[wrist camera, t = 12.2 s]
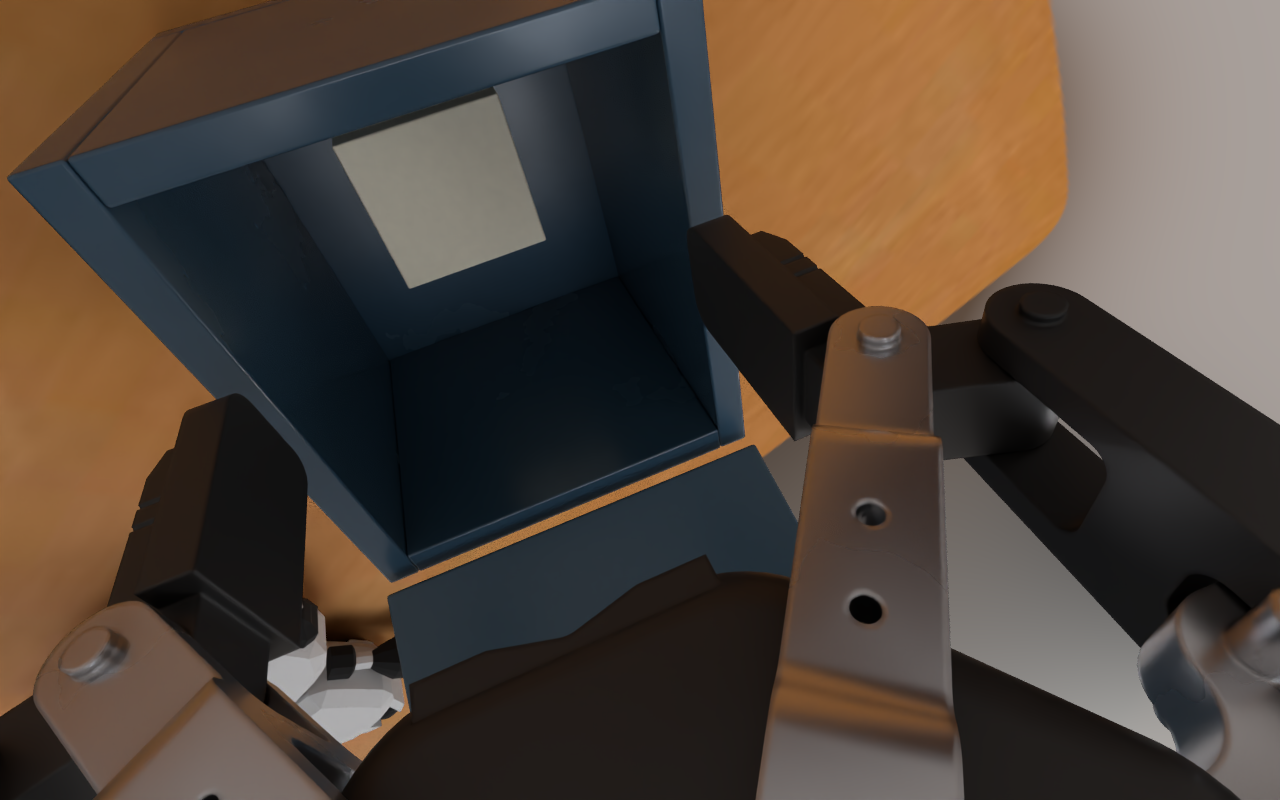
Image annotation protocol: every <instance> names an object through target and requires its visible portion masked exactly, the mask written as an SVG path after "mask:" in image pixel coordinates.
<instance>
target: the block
mask: <svg viewBox="0 0 1280 800" xmlns="http://www.w3.org/2000/svg"><path fill="white" fill-rule="evenodd" d="M332 149H333V151H334V152H335V154H336V156H337V158H338V160H339V162H340V163H341V165H342V167H343V169H344V171H345V173H346V174H347V176H348V178H349V180H350V182H351V184H352V185H353V187H354V189H355V191H356V193H357V195H358V196H359V198H360V200H361V202H362V204H363V206H364V207H365V209H366V211H367V213H368V215H369V216H370V218H371V220H372V222H373V224H374V226H375V227H376V229H377V231H378V233H379V235H380V237H381V238H382V240H383V242H384V244H385V246H386V248H387V249H388V251H389V253H390V255H391V257H392V259H393V260H394V262H395V264H396V266H397V268H398V270H399V271H400V273H401V275H402V277H403V279H404V281H405V282H406V284H407V286H408V288H414V287H416V286H419V285H422V284H425V283H428V282H430V281H433V280H436V279H439V278H442V277H444V276H447V275H450V274H453V273H456V272H458V271H461V270H464V269H467V268H469V267H472V266H475V265H478V264H481V263H483V262H486V261H489V260H492V259H495V258H497V257H500V256H503V255H506V254H509V253H511V252H514V251H517V250H520V249H523V248H525V247H528V246H531V245H534V244H537V243H539V242H542V241H545V240H546V237H545V234H544V231H543V228H542V225H541V222H540V219H539V216H538V213H537V210H536V207H535V204H534V201H533V198H532V195H531V192H530V189H529V186H528V183H527V180H526V177H525V174H524V171H523V168H522V165H521V162H520V159H519V156H518V153H517V150H516V147H515V144H514V141H513V138H512V135H511V132H510V129H509V126H508V123H507V120H506V117H505V114H504V111H503V108H502V105H501V102H500V99H499V96H498V94H497V92H496V91H495V89H494V88H493V87H491V88H488V89H484V90H481V91H478V92H475V93H472V94H469V95H466V96H463V97H459V98H456V99H453V100H450V101H447V102H444V103H441V104H437V105H434V106H431V107H428V108H425V109H422V110H419V111H415V112H412V113H409V114H406V115H403V116H400V117H397V118H393V119H390V120H387V121H384V122H381V123H378V124H375V125H372V126H368V127H365V128H362V129H359V130H356V131H353V132H350V133H346V134H343V135H340V136H337V137H334V138H332Z"/></svg>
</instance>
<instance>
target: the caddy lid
mask: <svg viewBox="0 0 1280 800" xmlns="http://www.w3.org/2000/svg"><path fill="white" fill-rule="evenodd" d="M797 528H798V522H797V520H796V518H795V516H794V515H793V513H792V511H791V509H790V507H789V506H788V504H787V502H786V500H785V498H784V496H783V495H782V493H781V491H780V489H779V487H778V486H777V484H776V482H775V480H774V478H773V477H772V475H771V473H770V471H769V469H768V467H767V466H766V464H765V462H764V460H763V458H762V457H761V455H760V453H759V451H758V449H757V447H756V446H755V445H750V446H748V447H746V448H743V449H741V450H738V451H736V452H734V453H731V454H729V455H726V456H724V457H721V458H719V459H717V460H714V461H712V462H709V463H707V464H705V465H702V466H700V467H697V468H695V469H693V470H690V471H688V472H685V473H683V474H680V475H678V476H676V477H673V478H671V479H668V480H666V481H664V482H661V483H659V484H656V485H654V486H651V487H649V488H647V489H644V490H642V491H639V492H637V493H635V494H632V495H630V496H627V497H625V498H622V499H620V500H618V501H615V502H613V503H610V504H608V505H606V506H603V507H601V508H598V509H596V510H593V511H591V512H589V513H586V514H584V515H581V516H579V517H577V518H574V519H572V520H569V521H567V522H565V523H562V524H560V525H557V526H555V527H552V528H550V529H548V530H545V531H543V532H540V533H538V534H536V535H533V536H531V537H528V538H526V539H523V540H521V541H519V542H516V543H514V544H511V545H509V546H507V547H504V548H502V549H499V550H497V551H494V552H492V553H490V554H487V555H485V556H482V557H480V558H478V559H475V560H473V561H470V562H468V563H465V564H463V565H461V566H458V567H456V568H453V569H451V570H449V571H446V572H444V573H441V574H439V575H437V576H434V577H432V578H429V579H427V580H424V581H422V582H420V583H417V584H415V585H412V586H410V587H408V588H405V589H403V590H400V591H398V592H395V593H393V594H391V595H389V596H388V598H387V599H388V604H389V609H390V614H391V619H392V624H393V629H394V634H395V639H396V644H397V649H398V654H399V659H400V664H401V669H402V674H403V679H404V684H405V689H406V694H407V699H408V704H409V709H410V712H411V702H410V690H409V684H411V683H414V682H416V681H418V680H420V679H423V678H425V677H427V676H430V675H432V674H434V673H436V672H439V671H441V670H443V669H445V668H448V667H450V666H452V665H455V664H457V663H459V662H461V661H464V660H466V659H468V658H470V657H473V656H475V655H477V654H480V653H482V652H484V651H488V650H493V649H499V648H505V647H510V646H516V645H521V644H527V643H533V642H538V641H544V640H550V639H555V638H560V637H564V636H567V635H569V634H571V633H572V632H574V631H575V630H577V629H578V628H579V627H581V626H582V625H583V624H585V623H586V622H587V621H589V620H590V619H591V618H593V617H594V616H595V615H597V614H598V613H599V612H601V611H602V610H603V609H605V608H606V607H607V606H609V605H610V604H611V603H613V602H614V601H615V600H616V599H618V598H619V597H620V596H622V595H623V594H624V593H626V592H627V591H628V590H630V589H631V588H632V587H634V586H635V585H636V584H639V583H641V582H643V581H645V580H648V579H650V578H652V577H654V576H657V575H659V574H661V573H664V572H666V571H668V570H670V569H673V568H675V567H677V566H679V565H682V564H684V563H686V562H689V561H691V560H693V559H695V558H698V557H700V556H702V555H704V554H706V555H707V557H708V559H709V561H710V563H711V565H712V567H713V569H714V571H715V572H716V574H719V573H725V572H738V571H754V572H767V573H772V574H778V575H783V576H787V577H791V570H792V563H793V556H794V549H795V542H796V535H797Z"/></svg>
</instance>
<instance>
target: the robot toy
mask: <svg viewBox="0 0 1280 800" xmlns="http://www.w3.org/2000/svg"><path fill="white" fill-rule="evenodd" d="M401 678H403V674H402V669H401V664H400V659H399V654H398V649H397V644H396V639H395V637H393V638H392V639H390V640H388V641H387V642H385V643H383V644H382V645H380V646H378V647H377V646H376V645H374V644H373V642H369V641H364V640H353V639H349V641H348V642H335V641H326V629H325V616H324V615H323V614H322V613H321V612H320V611H319V610H318V607H317V606H316V605H315V604H313V603H312V602H311V601H309V600H308V599H306V598H302V616H301V637H300V649H298V650H295V651H293V652H291V653H288V654H286V655H284V656H281V657H279V658H277V659H274V660H272V661H269V663H268V674H267V680H268V681H270V682H271V683H273V684H274V685H276V686H277V687H278V688H280V689H281V690H282V691H283V692H284V693H285V694H286V695H287V696H288V697H289V698H291V699H292V700H293V701H294V702H295V703H296V704H297V705H298V706H299V707H300V708H302V709H303V710H304V711H305V712H306V713H307V714H308V715H309V716H310V717H312V718H313V719H314V720H315V721H316V722H317V723H318V724H319V725H320V726H321V727H323V728H324V729H325V730H326V731H327V732H328V733H329V734H330V735H331V736H332V737H334V738H335V739H336V740H337V741H338V742H339V743H340V744H342V743H344V742H346V741H349V740H352V739H354V738H355V737H357V736H358V735H360V734H362V733H367V732H369V731H371V730H374V729H376V728H378V727H380V726H382V724H381V720H382V719H387V718H389V717H391V716H392V715H394V714H395V713H396V712H397V711H399V712H401V710H402V708H403V706H404V697H403V689H402V681H401Z"/></svg>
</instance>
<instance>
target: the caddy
mask: <svg viewBox="0 0 1280 800" xmlns="http://www.w3.org/2000/svg"><path fill="white" fill-rule="evenodd" d="M491 87H493V88H494V89H495V91H496V92H497V94H498V96H499V99H500V102H501V105H502V108H503V111H504V114H505V117H506V120H507V123H508V126H509V129H510V132H511V135H512V138H513V141H514V144H515V147H516V150H517V153H518V156H519V159H520V162H521V165H522V168H523V171H524V174H525V177H526V180H527V183H528V186H529V189H530V192H531V195H532V198H533V201H534V204H535V207H536V210H537V213H538V216H539V219H540V222H541V225H542V228H543V231H544V234H545V237H546V240H545V241H542V242H539V243H537V244H534V245H531V246H528V247H525V248H523V249H520V250H517V251H514V252H511V253H509V254H506V255H503V256H500V257H497V258H495V259H492V260H489V261H486V262H483V263H481V264H478V265H475V266H472V267H469V268H467V269H464V270H461V271H458V272H456V273H453V274H450V275H447V276H444V277H442V278H439V279H436V280H433V281H430V282H428V283H425V284H422V285H419V286H416V287H414V288H408V286H407V284H406V282H405V281H404V279H403V277H402V275H401V273H400V271H399V270H398V268H397V266H396V264H395V262H394V260H393V259H392V257H391V255H390V253H389V251H388V249H387V248H386V246H385V244H384V242H383V240H382V238H381V237H380V235H379V233H378V231H377V229H376V227H375V226H374V224H373V222H372V220H371V218H370V216H369V215H368V213H367V211H366V209H365V207H364V206H363V204H362V202H361V200H360V198H359V196H358V195H357V193H356V191H355V189H354V187H353V185H352V184H351V182H350V180H349V178H348V176H347V174H346V173H345V171H344V169H343V167H342V165H341V163H340V162H339V160H338V158H337V156H336V154H335V152H334V151H333V149H332V138H334V137H337V136H340V135H343V134H346V133H350V132H353V131H356V130H359V129H362V128H365V127H368V126H372V125H375V124H378V123H381V122H384V121H387V120H390V119H393V118H397V117H400V116H403V115H406V114H409V113H412V112H415V111H419V110H422V109H425V108H428V107H431V106H434V105H437V104H441V103H444V102H447V101H450V100H453V99H456V98H459V97H463V96H466V95H469V94H472V93H475V92H478V91H481V90H484V89H488V88H491ZM7 179H8V181H9V182H10V183H11V184H12V185H13V186H14V187H15V188H16V190H17V191H18V192H19V193H20V194H21V195H22V196H23V197H24V198H25V199H26V200H27V201H28V202H29V203H30V204H31V205H32V206H33V207H34V208H35V209H36V210H37V212H38V213H39V214H40V215H41V216H42V217H43V218H44V219H45V220H46V221H47V222H48V223H49V224H50V225H51V226H52V227H53V228H54V229H55V230H56V231H57V233H58V234H59V235H60V236H61V237H62V238H63V239H64V240H65V241H66V242H67V243H68V244H69V245H70V246H71V247H72V248H73V249H74V250H75V251H76V252H77V254H78V255H79V256H80V257H81V258H82V259H83V260H84V261H85V262H86V263H87V264H88V265H89V266H90V267H91V268H92V269H93V270H94V271H95V272H96V273H97V275H98V276H99V277H100V278H101V279H102V280H103V281H104V282H105V283H106V284H107V285H108V286H109V287H110V288H111V289H112V290H113V291H114V292H115V293H116V294H117V296H118V297H119V298H120V299H121V300H122V301H123V302H124V303H125V304H126V305H127V306H128V307H129V308H130V309H131V310H132V311H133V312H134V313H135V314H136V315H137V316H138V318H139V319H140V320H141V321H142V322H143V323H144V324H145V325H146V326H147V327H148V328H149V329H150V330H151V331H152V332H153V333H154V334H155V335H156V336H157V337H158V339H159V340H160V341H161V342H162V343H163V344H164V345H165V346H166V347H167V348H168V349H169V350H170V351H171V352H172V353H173V354H174V355H175V356H176V357H177V358H178V360H179V361H180V362H181V363H182V364H183V365H184V366H185V367H186V368H187V369H188V370H189V371H190V372H191V373H192V374H193V375H194V376H195V377H196V378H197V379H198V381H199V382H200V383H201V384H202V385H203V386H204V387H205V388H206V389H207V390H208V391H209V392H210V393H211V394H212V395H213V396H214V397H215V398H216V399H220V398H222V397H225V396H228V395H230V394H234V393H238V394H241V395H243V396H244V397H246V398H247V399H248V400H249V401H250V402H251V403H252V404H253V405H254V406H255V407H256V408H257V410H258V411H259V412H260V413H261V414H262V415H263V416H264V417H265V418H266V420H267V421H268V422H269V423H270V424H271V425H272V426H273V427H274V429H275V430H276V431H277V432H278V433H279V434H280V435H281V436H282V437H283V439H284V440H285V441H286V442H287V443H288V444H289V445H290V446H291V447H292V449H293V450H294V451H295V452H296V454H297V455H298V456H299V458H300V460H301V462H302V464H303V466H304V469H305V472H306V475H307V480H308V493H307V495H308V496H309V497H310V498H311V499H312V500H313V501H314V502H315V503H316V504H317V505H318V506H319V508H320V509H321V510H322V511H323V512H324V513H325V514H326V515H327V516H328V517H329V518H330V519H331V520H332V521H333V522H334V523H335V524H336V525H337V526H338V527H339V528H340V530H341V531H342V532H343V533H344V534H345V535H346V536H347V537H348V538H349V539H350V540H351V541H352V542H353V543H354V544H355V545H356V546H357V547H358V548H359V549H360V551H361V552H362V553H363V554H364V555H365V556H366V557H367V558H368V559H369V560H370V561H371V562H372V563H373V564H374V565H375V566H376V567H377V568H378V569H379V570H380V572H381V573H382V574H383V575H384V576H385V577H386V578H387V579H388V580H389V581H390V582H395V581H397V580H400V579H402V578H405V577H407V576H410V575H412V574H414V573H417V572H418V571H419V570H420V571H421V570H424V569H426V568H429V567H431V566H434V565H436V564H439V563H441V562H443V561H446V560H448V559H451V558H453V557H456V556H458V555H460V554H463V553H465V552H468V551H470V550H473V549H475V548H477V547H480V546H482V545H485V544H487V543H490V542H492V541H494V540H497V539H499V538H502V537H504V536H507V535H509V534H511V533H514V532H516V531H519V530H521V529H524V528H526V527H528V526H531V525H533V524H536V523H538V522H541V521H543V520H545V519H548V518H550V517H553V516H555V515H558V514H560V513H562V512H565V511H567V510H570V509H572V508H575V507H577V506H579V505H582V504H584V503H587V502H589V501H592V500H594V499H596V498H599V497H601V496H604V495H606V494H609V493H611V492H613V491H616V490H618V489H621V488H623V487H626V486H628V485H630V484H633V483H635V482H638V481H640V480H643V479H645V478H647V477H650V476H652V475H655V474H657V473H660V472H662V471H664V470H667V469H669V468H672V467H674V466H677V465H679V464H681V463H684V462H686V461H689V460H691V459H694V458H696V457H698V456H701V455H703V454H706V453H708V452H711V451H713V450H715V449H718V448H720V446H725V445H727V444H730V443H732V442H735V441H737V440H739V439H742V438H744V437H745V430H744V420H743V410H742V399H741V389H740V379H739V369H738V368H737V367H736V366H735V364H734V363H733V362H732V360H731V359H730V358H729V357H728V355H727V354H726V353H725V352H724V350H723V349H722V348H721V346H720V345H719V344H718V343H717V341H716V340H715V339H714V337H713V336H712V335H711V334H710V332H709V331H708V330H707V328H706V326H705V325H704V323H703V321H702V319H701V316H700V314H699V311H698V308H697V304H696V300H695V294H694V287H693V280H692V273H691V266H690V260H689V253H688V246H687V230H688V229H689V228H691V227H694V226H697V225H699V224H702V223H705V222H707V221H710V220H713V219H716V218H718V217H721V216H724V215H723V205H722V195H721V184H720V174H719V164H718V154H717V144H716V133H715V123H714V113H713V103H712V92H711V82H710V72H709V62H708V51H707V41H706V31H705V21H704V11H703V0H272V1H269V2H265V3H262V4H258V5H255V6H251V7H248V8H244V9H241V10H237V11H234V12H230V13H227V14H223V15H220V16H217V17H213V18H210V19H206V20H203V21H199V22H196V23H192V24H189V25H185V26H182V27H178V28H175V29H171V30H168V31H164V32H161V33H158V34H157V35H156V36H155V37H153V38H152V39H151V40H150V41H149V42H148V43H147V44H146V45H145V46H144V47H143V48H142V49H141V50H140V51H139V52H138V53H136V54H135V55H134V56H133V57H132V58H131V59H130V60H129V61H128V62H127V63H126V64H125V65H124V66H123V67H122V68H121V69H120V70H119V71H118V72H117V73H115V74H114V75H113V76H112V77H111V78H110V79H109V80H108V81H107V82H106V83H105V84H104V85H103V86H102V87H101V88H100V89H99V90H98V91H97V92H96V93H95V94H93V95H92V96H91V97H90V98H89V99H88V100H87V101H86V102H85V103H84V104H83V105H82V106H81V107H80V108H79V109H78V110H77V111H76V112H75V113H74V114H72V115H71V116H70V117H69V118H68V119H67V120H66V121H65V122H64V123H63V124H62V125H61V126H60V127H59V128H58V129H57V130H56V131H55V132H54V133H53V134H52V135H50V136H49V137H48V138H47V139H46V140H45V141H44V142H43V143H42V144H41V145H40V146H39V147H38V148H37V149H36V150H35V151H34V152H33V153H32V154H31V155H29V156H28V157H27V158H26V159H25V160H24V161H23V162H22V163H21V164H20V165H19V166H18V167H17V168H16V169H15V170H14V171H13V172H12V173H11V174H10V175H9V176H8V177H7Z"/></svg>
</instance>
